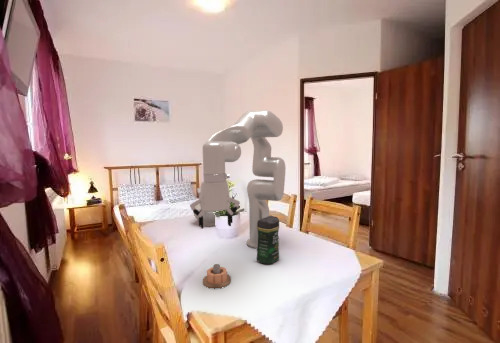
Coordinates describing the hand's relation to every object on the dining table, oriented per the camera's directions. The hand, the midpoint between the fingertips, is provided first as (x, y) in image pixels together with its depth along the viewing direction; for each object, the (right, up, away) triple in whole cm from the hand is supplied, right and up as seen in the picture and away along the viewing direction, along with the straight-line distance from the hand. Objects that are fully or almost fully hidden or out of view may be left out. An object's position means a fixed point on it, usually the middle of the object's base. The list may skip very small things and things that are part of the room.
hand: (215, 226), depth 100 cm
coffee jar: (+20, -18, +19) cm, 33 cm away
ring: (0, -19, +2) cm, 19 cm away
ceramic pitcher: (-12, -13, +71) cm, 73 cm away
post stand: (0, -20, +2) cm, 20 cm away
